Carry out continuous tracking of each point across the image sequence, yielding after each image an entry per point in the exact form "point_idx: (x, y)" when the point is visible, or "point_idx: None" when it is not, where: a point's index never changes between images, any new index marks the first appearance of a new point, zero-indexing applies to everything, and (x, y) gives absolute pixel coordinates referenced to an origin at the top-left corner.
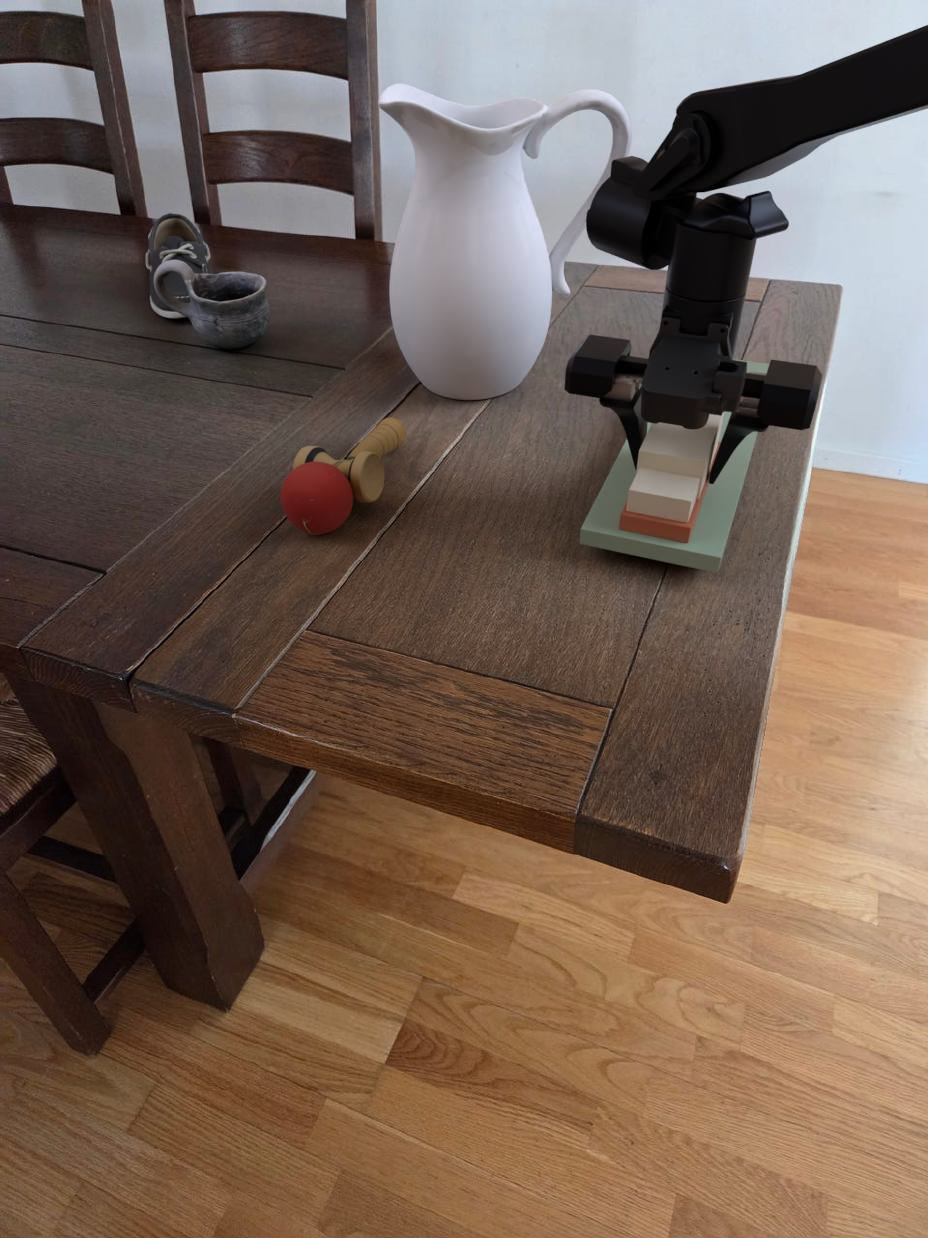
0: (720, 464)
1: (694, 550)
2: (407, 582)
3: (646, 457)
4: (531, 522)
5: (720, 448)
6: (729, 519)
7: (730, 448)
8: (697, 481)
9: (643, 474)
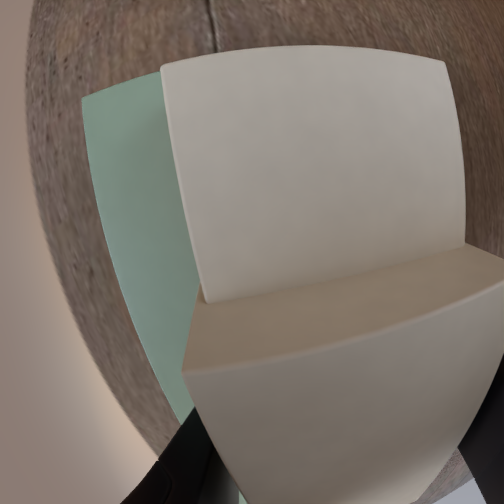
0: (194, 427)
1: (148, 81)
2: (488, 9)
3: (485, 268)
4: (477, 161)
5: (196, 478)
6: (122, 277)
7: (156, 484)
8: (204, 269)
9: (447, 197)
